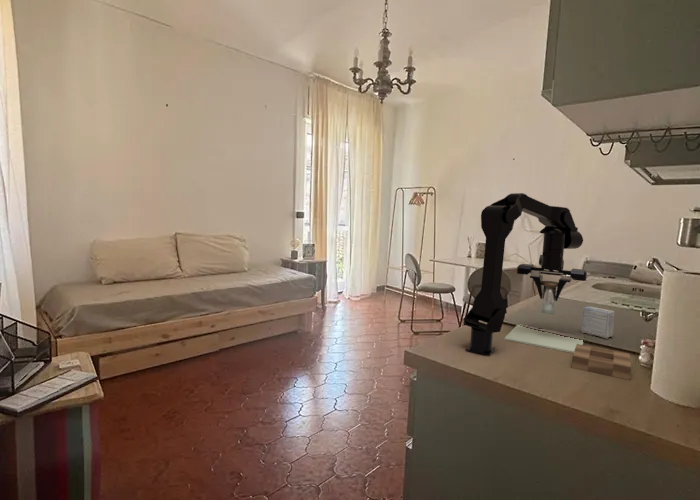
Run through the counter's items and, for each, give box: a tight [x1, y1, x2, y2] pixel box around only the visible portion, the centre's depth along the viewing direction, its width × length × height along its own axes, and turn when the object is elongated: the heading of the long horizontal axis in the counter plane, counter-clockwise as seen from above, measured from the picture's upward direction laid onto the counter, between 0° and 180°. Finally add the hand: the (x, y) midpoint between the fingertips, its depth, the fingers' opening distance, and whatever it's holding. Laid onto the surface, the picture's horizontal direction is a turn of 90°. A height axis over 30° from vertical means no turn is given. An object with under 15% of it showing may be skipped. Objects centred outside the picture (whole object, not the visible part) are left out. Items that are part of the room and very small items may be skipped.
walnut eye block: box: [571, 344, 632, 381], centre depth 103 cm, size 12×12×3 cm
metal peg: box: [540, 280, 559, 315], centre depth 125 cm, size 5×5×10 cm
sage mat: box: [503, 324, 584, 354], centre depth 126 cm, size 20×20×1 cm
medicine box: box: [580, 305, 616, 337], centre depth 131 cm, size 8×4×9 cm, turn 35°
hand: (548, 299), depth 125 cm, fingers closed on metal peg, 4 cm apart
